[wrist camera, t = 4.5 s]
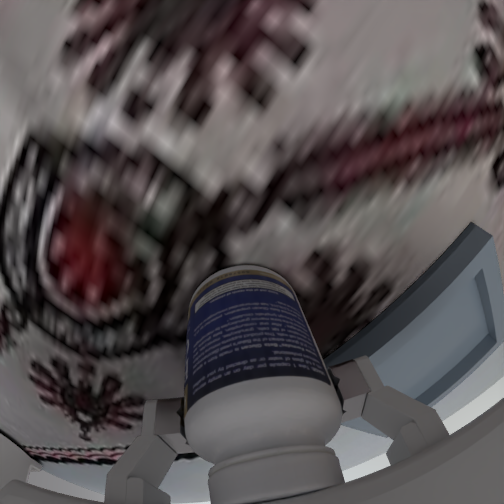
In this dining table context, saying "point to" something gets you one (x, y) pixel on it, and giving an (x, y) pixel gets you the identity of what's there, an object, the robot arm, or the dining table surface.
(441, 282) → the dish
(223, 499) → the pill bottle
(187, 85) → the dining table surface
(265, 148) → the dining table surface
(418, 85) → the dining table surface
